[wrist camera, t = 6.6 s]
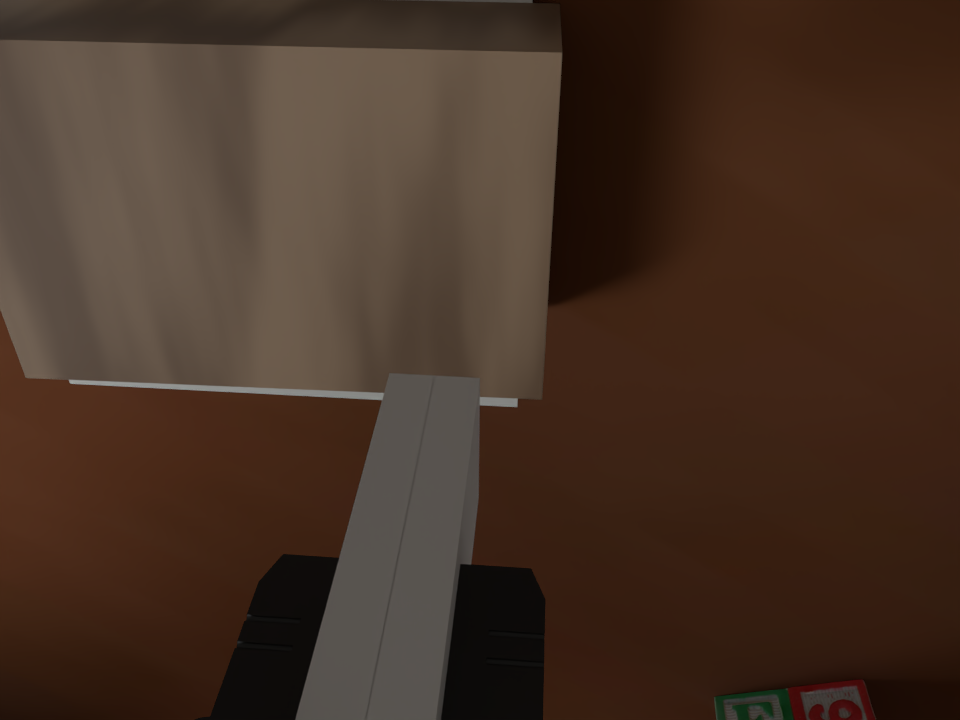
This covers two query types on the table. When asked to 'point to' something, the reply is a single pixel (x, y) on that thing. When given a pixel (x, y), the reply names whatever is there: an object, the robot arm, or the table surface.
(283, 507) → the table surface
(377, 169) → the brown package
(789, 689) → the stack of blocks
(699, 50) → the table surface
